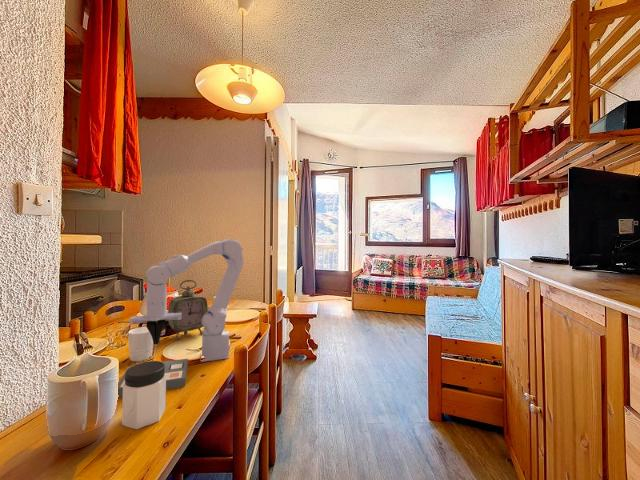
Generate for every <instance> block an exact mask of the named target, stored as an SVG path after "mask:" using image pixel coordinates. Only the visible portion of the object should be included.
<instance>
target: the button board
mask: <svg viewBox="0 0 640 480" xmlns="http://www.w3.org/2000/svg"><path fill="white" fill-rule="evenodd" d="M188 360H189V359H188V358H181V359H175V360H166V361H162V362H163V363H164V364H165V373H166V390H172V389H177V388H182V387H185V386H186V381H187V380H186V379H187V374H188V373H187V372H188V367H189V366H188V365H189V363H188ZM182 363H183V365H182V368H179V369H173V370H170V369H171V365H175V364H182ZM132 366H133V365H130V366H128V367H127V368H126V370H125V372H126V371H127V369H129V368H130V367H132ZM125 372H124V374H123V375H122V377H121V378H120V380H119V382H118V383H119V386H118V395H119V398H123V385H124V384H125Z"/></svg>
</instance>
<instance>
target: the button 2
mask: <svg viewBox="0 0 640 480" xmlns="http://www.w3.org/2000/svg"><path fill="white" fill-rule="evenodd" d="M182 365H183V363H182V364H175V365H171V369H170V370H173V369H179V368H182Z"/></svg>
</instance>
